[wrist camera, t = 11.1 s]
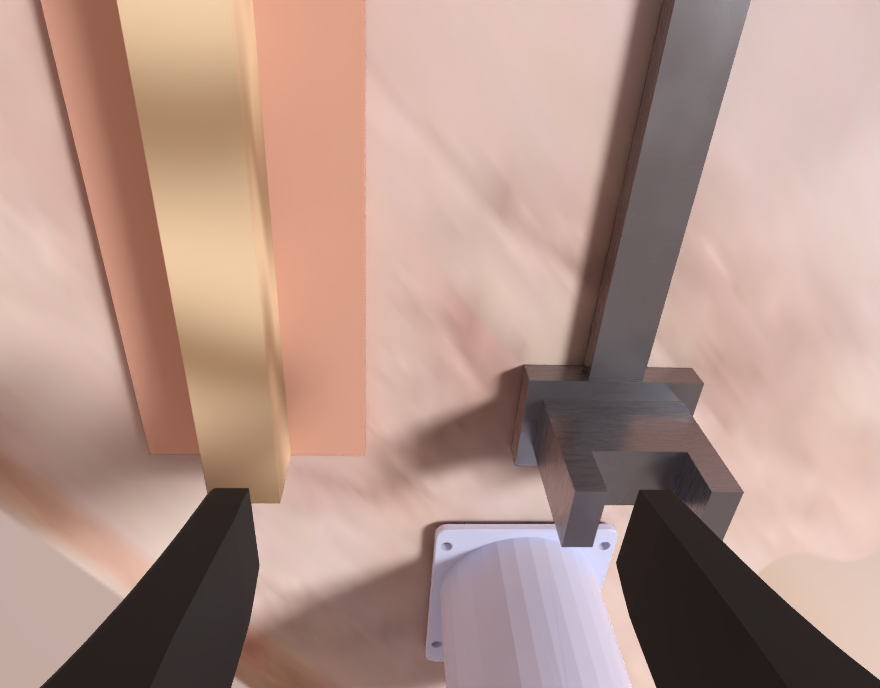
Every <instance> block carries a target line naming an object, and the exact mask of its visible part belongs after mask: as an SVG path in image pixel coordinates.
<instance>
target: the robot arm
mask: <svg viewBox="0 0 880 688" xmlns="http://www.w3.org/2000/svg"><path fill="white" fill-rule="evenodd" d="M617 538H618V534H617V531H616V529H615V527H614V526H613V525H611V524H599V526H598V530H597V533H596V537H595V540H594V544H593V547H561V544H560V540H559V537H558V533H557V530H556V526H555V524H444V525H441V526H439V527H438V528H437V529H436V531H435V540H434V552H433V564H432V576H431V588H430V600H429V612H428V624H427V636H426V648H425V655H426V658H427V659H428V660H429V661H432V662H444V666H445V681H446V688H632V685H631V682H630V679H629V676H628V673H627V670H626V667H625V664H624V661H623V658H622V655H621V652H620V649H619V646H618V643H617V640H616V637H615V634H614V631H613V628H612V625H611V622H610V619H609V616H608V613H607V610H606V607H605V604H604V600H603V597H602V594H601V590H602V586H603V583H604V580H605V577H606V573H607V570H608V567H609V564H610V560H611V557H612V554H613V551H614V547H615V544H616V541H617ZM446 542H448V543H446ZM602 542H603V543H602ZM445 543H446V544H445ZM616 565H617V569H618V573H619V577H620V581H621V586H622V590H623V594H624V598H625V601H626V605H627V609H628V613H629V616H630V619H631V622H632V625H633V627H634V630H635V633H636V635H637V638H638V641H639V643H640V646H641V649H642V651H643V654H644V656H645V659H646V662H647V664H648V667H649V669H650V672H651V675H652V677H653V680H654V682H655V685H656V688H880V680H879V679H877V678H876V677H875V676H873V674H871V673H870V672H869V671H868V670H866V669H865V668H864V667H862V666H861V665H860V664H859V663H857V662H856V661H855V660H853V659H852V658H851V657H849V656H848V655H847V654H846V653H845V652H843V651H842V650H841V649H840V648H839V647H837V646H836V645H835V644H834V643H833V642H831V641H830V640H829V639H828V638H826V637H825V636H824V635H823V634H822V633H821V632H820V631H819V630H817V629H816V628H815V627H814V626H813V625H812V624H811V623H809V622H808V621H807V620H806V619H805V618H804V617H803V616H801V615H800V614H799V613H798V612H797V611H796V610H795V609H793V608H792V607H791V606H790V605H789V604H788V603H787V602H786V601H785V600H783V599H782V598H781V597H780V596H779V595H778V594H777V593H776V592H775V591H774V590H773V589H771V588H770V587H769V586H768V585H767V584H766V583H765V582H764V581H763V580H762V579H761V578H760V577H759V576H758V575H757V574H756V573H755V572H754V571H752V570H751V569H750V568H749V567H748V566H747V565H746V564H745V563H744V562H743V561H742V560H741V559H740V558H739V557H738V556H737V555H736V554H735V553H734V552H733V551H732V550H731V549H730V548H729V547H728V546H727V545H726V544H725V543H724V542H723V541H722V540H721V539H720V538H719V537H718V536H717V535H716V534H715V533H714V532H713V531H712V530H711V529H710V528H709V527H708V526H707V525H706V524H705V523H704V522H703V521H702V520H701V519H700V518H699V517H698V516H697V515H696V514H695V513H694V512H693V511H692V510H691V509H690V508H689V507H688V506H687V505H686V504H685V503H684V502H683V501H682V500H681V499H680V498H679V497H678V496H677V495H676V494H674V493H673V492H672V491H671V490H639V492H638V495H637V498H636V501H635V505H634V508H633V511H632V514H631V517H630V520H629V524H628V527H627V530H626V533H625V536H624V539H623V543H622V546H621V549H620V552H619V555H618V558H617V562H616ZM258 571H259V558H258V551H257V543H256V536H255V529H254V521H253V514H252V506H251V499H250V492H249V488H214V489H212V490H211V491H210V492H209V493H208V494H207V495H206V497H205V498H204V500H203V501H202V502H201V504H200V505H199V506H198V508H197V509H196V510H195V512H194V513H193V514H192V516H191V517H190V518H189V520H188V521H187V522H186V524H185V525H184V526H183V528H182V529H181V530H180V532H179V533H178V534H177V536H176V537H175V538H174V539H173V541H172V542H171V543H170V544H169V546H168V547H167V548H166V550H165V551H164V552H163V553H162V555H161V556H160V557H159V558H158V559H157V561H156V562H155V563H154V564H153V565H152V567H151V568H150V569H149V570H148V571H147V573H146V574H145V575H144V576H143V577H142V579H141V580H140V581H139V582H138V583H137V585H136V586H135V587H134V588H133V589H132V591H131V592H130V593H129V594H128V595H127V596H126V598H125V599H124V600H123V601H122V602H121V603H120V604H119V605H118V606H117V608H116V609H115V610H114V611H113V612H112V613H111V614H110V615H109V616H108V618H107V619H106V620H105V621H104V622H103V623H102V624H101V625H100V626H99V627H98V629H97V630H96V631H95V632H94V633H93V634H92V635H91V636H90V637H89V638H88V640H87V641H86V642H85V643H84V644H83V645H82V646H81V647H80V648H79V649H78V650H77V651H76V652H75V653H74V654H73V655H72V656H71V657H70V658H69V659H68V660H67V661H66V662H65V663H64V664H63V665H62V666H61V668H59V669H58V670H57V672H56V673H55V674H54V675H52V677H50V678H49V679H48V680H47V682H45V683H44V684H43V685H42V686H41V687H40V688H231V685H232V682H233V679H234V675H235V672H236V668H237V665H238V661H239V658H240V654H241V651H242V647H243V644H244V640H245V637H246V633H247V630H248V626H249V622H250V617H251V612H252V606H253V601H254V595H255V589H256V583H257V577H258Z"/></svg>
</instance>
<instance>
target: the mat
mask: <svg viewBox="0 0 880 688" xmlns="http://www.w3.org/2000/svg"><path fill="white" fill-rule="evenodd" d="M40 1H41V5H42V9H43V13H44V17H45V21H46V26H47V30H48V34H49V38H50V42H51V46H52V50H53V55H54V59H55V63H56V67H57V71H58V75H59V80H60V84H61V88H62V92H63V96H64V100H65V104H66V109H67V113H68V117H69V121H70V125H71V129H72V134H73V138H74V142H75V146H76V150H77V154H78V158H79V163H80V167H81V171H82V175H83V179H84V183H85V188H86V192H87V196H88V200H89V204H90V208H91V212H92V217H93V221H94V225H95V229H96V233H97V237H98V242H99V246H100V250H101V254H102V258H103V262H104V266H105V271H106V275H107V279H108V283H109V287H110V291H111V296H112V300H113V304H114V308H115V312H116V316H117V320H118V325H119V329H120V333H121V337H122V341H123V345H124V349H125V354H126V358H127V362H128V366H129V370H130V374H131V379H132V383H133V387H134V391H135V395H136V399H137V403H138V408H139V412H140V416H141V420H142V424H143V428H144V433H145V437H146V441H147V445H148V449H149V453H150V454H184V455H200V451H199V445H198V440H197V434H196V429H195V423H194V418H193V412H192V407H191V402H190V396H189V391H188V385H187V380H186V374H185V369H184V364H183V358H182V353H181V347H180V342H179V336H178V331H177V326H176V320H175V315H174V309H173V304H172V298H171V293H170V287H169V282H168V277H167V271H166V266H165V260H164V255H163V249H162V244H161V239H160V233H159V228H158V222H157V217H156V211H155V206H154V201H153V195H152V190H151V184H150V179H149V173H148V168H147V162H146V157H145V152H144V146H143V141H142V135H141V130H140V124H139V119H138V114H137V108H136V103H135V97H134V92H133V86H132V81H131V76H130V70H129V65H128V59H127V54H126V48H125V43H124V37H123V32H122V27H121V21H120V16H119V10H118V5H117V0H40ZM253 11H254V23H255V35H256V47H257V59H258V71H259V83H260V95H261V107H262V119H263V131H264V143H265V155H266V167H267V179H268V191H269V203H270V215H271V227H272V239H273V251H274V262H275V274H276V286H277V298H278V310H279V322H280V334H281V346H282V358H283V370H284V382H285V394H286V406H287V418H288V430H289V442H290V454H291V455H305V456H365V0H253Z"/></svg>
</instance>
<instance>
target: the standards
mask: <svg viewBox="0 0 880 688" xmlns="http://www.w3.org/2000/svg"><path fill="white" fill-rule="evenodd" d="M750 1H751V0H663V4H662V9H661V14H660V18H659V23H658V27H657V32H656V36H655V41H654V45H653V50H652V55H651V59H650V64H649V68H648V73H647V77H646V82H645V86H644V91H643V96H642V100H641V105H640V109H639V114H638V118H637V123H636V128H635V132H634V137H633V141H632V146H631V150H630V155H629V159H628V164H627V169H626V173H625V178H624V182H623V187H622V191H621V196H620V200H619V205H618V210H617V214H616V219H615V223H614V228H613V232H612V237H611V241H610V246H609V251H608V255H607V260H606V264H605V269H604V273H603V278H602V282H601V287H600V292H599V296H598V301H597V305H596V310H595V314H594V319H593V323H592V328H591V333H590V337H589V342H588V346H587V351H586V355H585V360H584V364H583V366H553V365H524V371H523V378H522V384H521V390H520V396H519V403H518V409H517V415H516V421H515V428H514V434H513V440H512V446H511V450H512V455H513V459H514V463H515V466H538V468H539V471H540V475H541V478H542V481H543V485H544V488H545V492H546V495H547V499H548V502H549V506H550V509H551V513H552V516H553V520H554V523H555V526H556V530H557V533H558V537H559V540H560V544H561V547H593V544H594V540H595V537H596V533H597V530H598V526H599V522H600V519H601V515H602V512H603V508H604V505H635V501H636V498H637V495H638V492H639V490H671V491H672V492H673V493H674V494H676V495H677V496H678V497H679V498H680V499H681V500H682V501H683V502H684V503H685V504H686V505H687V506H688V507H689V508H690V509H691V510H692V511H693V512H694V513H695V514H696V515H697V516H698V517H699V518H700V519H701V520H702V521H703V522H704V523H705V524H706V525H707V526H708V527H709V528H710V529H711V530H712V531H713V532H714V533H715V534H716V535H717V536H718V537H719V538H720V539H721V540H722V541H723V538H724V536H725V534H726V531H727V529H728V527H729V525H730V522H731V520H732V518H733V515H734V513H735V511H736V509H737V506H738V504H739V502H740V499H741V497H742V495H743V493H744V492H743V490H742V489H741V487H740V486H739V484H738V483H737V481H736V480H735V478H734V477H733V475H732V474H731V473H730V471H729V470H728V468H727V467H726V465H725V464H724V462H723V461H722V459H721V458H720V456H719V455H718V453H717V452H716V450H715V449H714V448H713V446H712V445H711V443H710V442H709V440H708V439H707V437H706V436H705V434H704V433H703V431H702V430H701V428H700V427H699V425H698V424H697V423H696V421H695V420H694V418H693V414H694V411H695V408H696V405H697V402H698V399H699V397H700V394H701V391H702V388H703V385H704V383H703V382H702V380H701V379H700V378H699V376H698V375H697V374H696V372H695V371H694V370H693V369H692V368H647V364H648V360H649V357H650V353H651V350H652V346H653V343H654V339H655V336H656V332H657V329H658V325H659V322H660V318H661V314H662V311H663V307H664V304H665V300H666V297H667V293H668V290H669V286H670V283H671V279H672V276H673V272H674V269H675V265H676V262H677V258H678V255H679V251H680V248H681V244H682V241H683V237H684V233H685V230H686V226H687V223H688V219H689V216H690V212H691V209H692V205H693V202H694V198H695V195H696V191H697V188H698V184H699V181H700V177H701V174H702V170H703V167H704V163H705V160H706V156H707V152H708V149H709V145H710V142H711V138H712V135H713V131H714V128H715V124H716V121H717V117H718V114H719V110H720V107H721V103H722V100H723V96H724V93H725V89H726V86H727V82H728V78H729V75H730V71H731V68H732V64H733V61H734V57H735V54H736V50H737V47H738V43H739V40H740V36H741V33H742V29H743V26H744V22H745V19H746V15H747V12H748V8H749V5H750Z"/></svg>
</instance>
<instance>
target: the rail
mask: <svg viewBox="0 0 880 688" xmlns="http://www.w3.org/2000/svg"><path fill="white" fill-rule="evenodd" d="M117 5H118V10H119V16H120V21H121V27H122V32H123V37H124V43H125V48H126V54H127V59H128V65H129V70H130V76H131V81H132V86H133V92H134V97H135V103H136V108H137V114H138V119H139V124H140V130H141V135H142V141H143V146H144V152H145V157H146V162H147V168H148V173H149V179H150V184H151V190H152V195H153V201H154V206H155V211H156V217H157V222H158V228H159V233H160V239H161V244H162V249H163V255H164V260H165V266H166V271H167V277H168V282H169V287H170V293H171V298H172V304H173V309H174V315H175V320H176V326H177V331H178V336H179V342H180V347H181V353H182V358H183V364H184V369H185V374H186V380H187V385H188V391H189V396H190V402H191V407H192V412H193V418H194V423H195V429H196V434H197V440H198V445H199V451H200V456H201V461H202V467H203V472H204V478H205V483H206V489H207V494H208V493H209V492H210V491H211V490H212V489H214V488H249V492H250V499H251V503H280V502H281V497H282V493H283V488H284V484H285V480H286V475H287V471H288V467H289V462H290V458H291V454H290V442H289V430H288V418H287V406H286V394H285V382H284V370H283V358H282V346H281V334H280V322H279V310H278V298H277V286H276V274H275V262H274V251H273V239H272V227H271V215H270V203H269V191H268V179H267V167H266V155H265V143H264V131H263V119H262V107H261V95H260V83H259V71H258V59H257V47H256V35H255V23H254V11H253V0H117Z"/></svg>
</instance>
